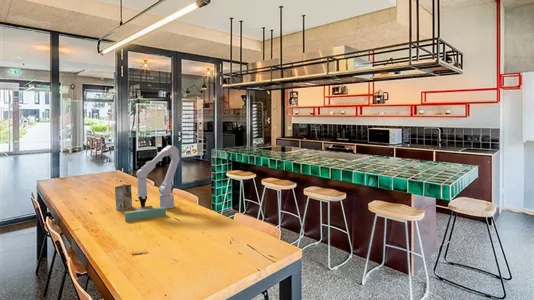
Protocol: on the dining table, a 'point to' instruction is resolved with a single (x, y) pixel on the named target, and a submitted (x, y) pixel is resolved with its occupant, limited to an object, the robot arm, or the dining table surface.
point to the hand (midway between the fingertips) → (143, 206)
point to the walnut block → (144, 208)
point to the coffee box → (123, 197)
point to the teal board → (145, 214)
